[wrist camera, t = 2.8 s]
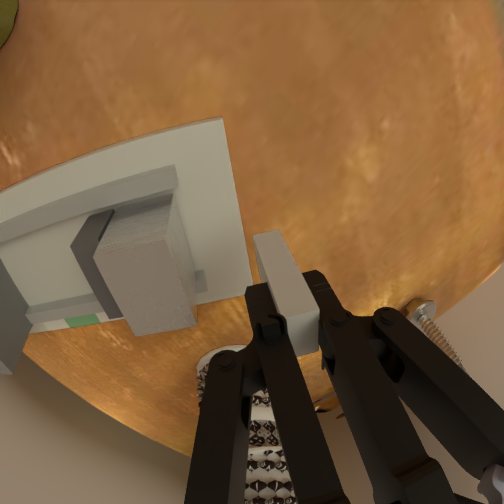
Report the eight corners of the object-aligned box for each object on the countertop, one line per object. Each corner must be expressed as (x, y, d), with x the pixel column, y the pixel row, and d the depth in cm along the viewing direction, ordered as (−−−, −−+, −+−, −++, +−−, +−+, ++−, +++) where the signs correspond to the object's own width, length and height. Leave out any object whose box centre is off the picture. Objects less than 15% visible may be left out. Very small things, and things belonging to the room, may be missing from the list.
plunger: (117, 207, 18) (92, 257, 13) (173, 192, 19) (165, 239, 14) (145, 277, 22) (135, 336, 17) (195, 266, 22) (197, 325, 17)
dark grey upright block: (88, 215, 18) (69, 246, 15) (113, 208, 18) (97, 238, 15) (133, 311, 23) (127, 347, 20) (155, 307, 23) (151, 344, 20)
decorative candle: (178, 376, 32) (200, 585, 11) (221, 331, 29) (271, 593, 8) (241, 393, 36) (280, 571, 15) (288, 355, 33) (354, 561, 12)
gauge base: (-33, 209, 17) (-86, 262, 10) (221, 116, 18) (236, 139, 11) (31, 323, 24) (7, 387, 17) (251, 281, 26) (273, 359, 19)
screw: (390, 313, 32) (419, 285, 31) (406, 324, 35) (432, 298, 33) (444, 398, 22) (481, 366, 20) (455, 400, 24) (487, 372, 22)
